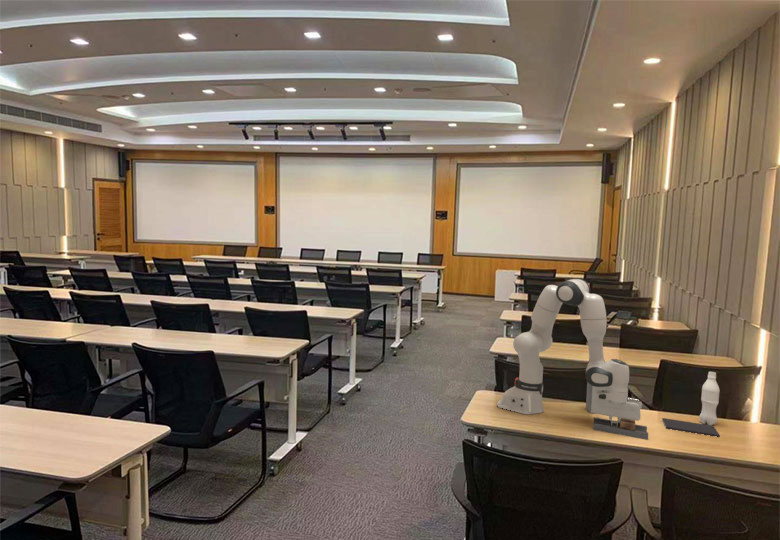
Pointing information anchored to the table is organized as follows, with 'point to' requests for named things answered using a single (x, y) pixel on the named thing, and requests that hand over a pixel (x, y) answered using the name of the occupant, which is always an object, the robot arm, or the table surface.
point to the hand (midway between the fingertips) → (614, 426)
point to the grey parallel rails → (606, 427)
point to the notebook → (690, 427)
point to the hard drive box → (591, 395)
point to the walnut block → (627, 424)
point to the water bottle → (709, 400)
